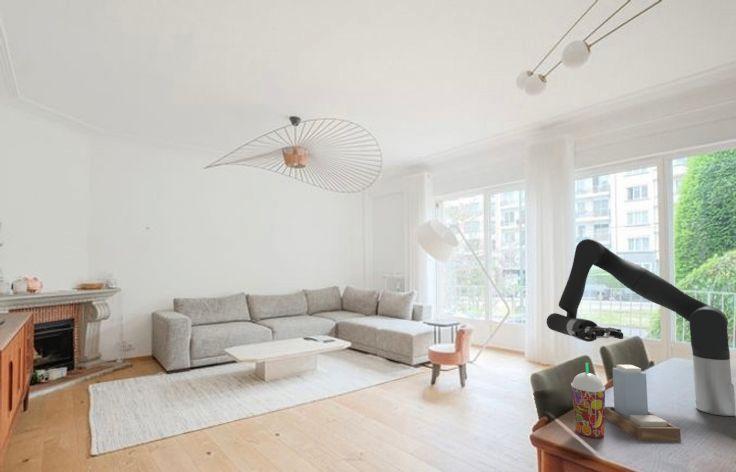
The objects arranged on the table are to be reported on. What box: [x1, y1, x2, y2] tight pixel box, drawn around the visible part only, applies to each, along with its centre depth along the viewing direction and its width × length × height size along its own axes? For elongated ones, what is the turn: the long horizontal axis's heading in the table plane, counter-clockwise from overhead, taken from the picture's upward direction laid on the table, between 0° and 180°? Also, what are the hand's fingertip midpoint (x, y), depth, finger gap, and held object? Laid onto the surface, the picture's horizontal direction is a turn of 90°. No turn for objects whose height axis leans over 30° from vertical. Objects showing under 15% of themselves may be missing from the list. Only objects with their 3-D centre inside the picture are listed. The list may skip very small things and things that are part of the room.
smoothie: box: [570, 362, 606, 439], centre depth 109 cm, size 8×8×20 cm
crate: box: [604, 406, 682, 441], centre depth 112 cm, size 16×11×4 cm
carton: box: [612, 364, 649, 421], centre depth 116 cm, size 6×6×16 cm
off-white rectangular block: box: [630, 414, 668, 427], centre depth 108 cm, size 4×7×4 cm, turn 89°
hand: (608, 336), depth 127 cm, fingers open, 8 cm apart
